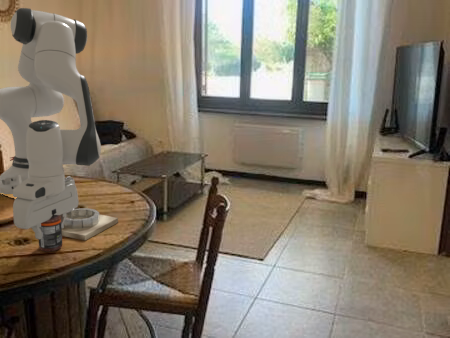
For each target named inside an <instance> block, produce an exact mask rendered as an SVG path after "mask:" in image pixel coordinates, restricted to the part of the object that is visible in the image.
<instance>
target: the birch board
mask: <svg viewBox="0 0 450 338" xmlns="http://www.w3.org/2000/svg"><path fill="white" fill-rule="evenodd" d="M85 218H88V217H77V218H72V219H85ZM118 223H119V218H118V217H114V216H109V215H106V214H105V215H104V214H99V223H98V224H96V225H94V226H92V227H88V228H82V229H73V228H72V229H71V228H66V227H64V228H63V229H62V237H67V238H71V239H77V240H81V241H87V240H90V239H91V238H93V237H94V236H96V235H98V234H99V233H103V231H106V230H107V229H109V228H111V227H113V226H115V225H116V224H118Z"/></svg>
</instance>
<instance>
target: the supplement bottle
mask: <svg viewBox="0 0 450 338" xmlns="http://www.w3.org/2000/svg"><path fill="white" fill-rule="evenodd" d="M54 214H56V209H53V210H52V217H51V218H50V219H49V220H47V221H45V222H43V223H41V227H39V228H40V229H41V231H44V235H45V237H44V238H42V239H38V248H39V249H40V250H41V251H42V252H55V251H57V250H60V249H61V248H62V247H63V236H62V229H61V217H60V215H54Z"/></svg>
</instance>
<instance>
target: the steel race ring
mask: <svg viewBox="0 0 450 338" xmlns="http://www.w3.org/2000/svg"><path fill="white" fill-rule="evenodd" d="M99 215H100V211H98V210H96V209H93V208H87V207H84V208H80V207H79V208H78V207H77V208H75V209H73V210H70V211H68V212H66V218H65V221H64V227H66V228H71V229H72V228H73V229H82V228H88V227H92V226H94V225H96V224H98V223H99ZM77 217H88V218H85V219H72V218H77Z"/></svg>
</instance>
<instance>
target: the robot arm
mask: <svg viewBox="0 0 450 338" xmlns="http://www.w3.org/2000/svg"><path fill="white" fill-rule="evenodd" d="M10 31H11V34H12V37H13V38H14V40H15V41H16V42H18V43H20V44H22V46H21V50H20V55H19V60H18V66H17V71H18V73H19V76H21V78H22V79H24V80H25V81H26V82H28V83H29V84H28V85H27V86H7V87H2V88H0V120H1V121H2V122H4V123H5V125H6V126H7V127H8V129H9V130H10V132H11V134H12V140H13V145H14V156H12V157H10V159H9V161H12V163H11V166H10V167H9V168H7V169H6V170H5V171H3V173H1V174H0V193H4V194H13V196H14V197H17V198H16V199H14V201H13V204H12V215H13V217H12V218H13V224H14V225H15V226H16V228H18V229H23V230H29V229H31V230H32V231H33V232H34V236H35V237H34V238H35V239H37V240H39V239H42V238H44V237H45V235H44V231H41V229H40V228H39V227H41V223H43V222H45V221H47V220H49V219H50V218H51V217H52V210H53V209H56V214H54V215H60V217H61V229H63V228H64V221H65V218H66V212H68V211H70V210H73V209H77V208H78V206H79V202H80V201H79V195H78V189H77V186H76V183H75V181H76V180H75V179H74V178H73V177H71V176H67V177H65V169H64V166H63V165H77V166H84V167H85V166H86V167H90V166H92V165H93V164H94V163H96V162H97V161H98V160H99V159H100V157H101V152H102V144H101V139H100V137H99V134H98V132H97V127H96V121H95V116H94V109H93V103H92V99H91V92H90V88H89V84H88V81H87V78H86V77H85V75H83V74H80V72H79V70H78V68H77V64H76V63H77V62H76V61H77V55H76V54H78V55H79V54H80V53H82V52H83V51H84V49H85V48H86V45H87V42H88V30H87V28H86V25H85V24H84V23H83V22H82V21H79V20H76V19H72V18H69V17H67V16H65V15H60V14H57V13H54V12H53V13H51V12H47V11H42V10H34V9H31V8H29V7H28V8H27V7H20V8H18V9H17V10H15V12H14V14H13V15H12V17H11V20H10ZM64 95H65V96H68V97H69V98H72V99H73V100H74V101H75V102H76V104H77V110H78V118H79V123H80V126H79V128H77V129H61V128H60V124H59V122H57V121H54V120H48V119H40V120H36V121H32V118H40V117H49V116H52V115H57V114H59V113H61V112H62V110H63V107H64V105H65V98H64Z"/></svg>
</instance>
